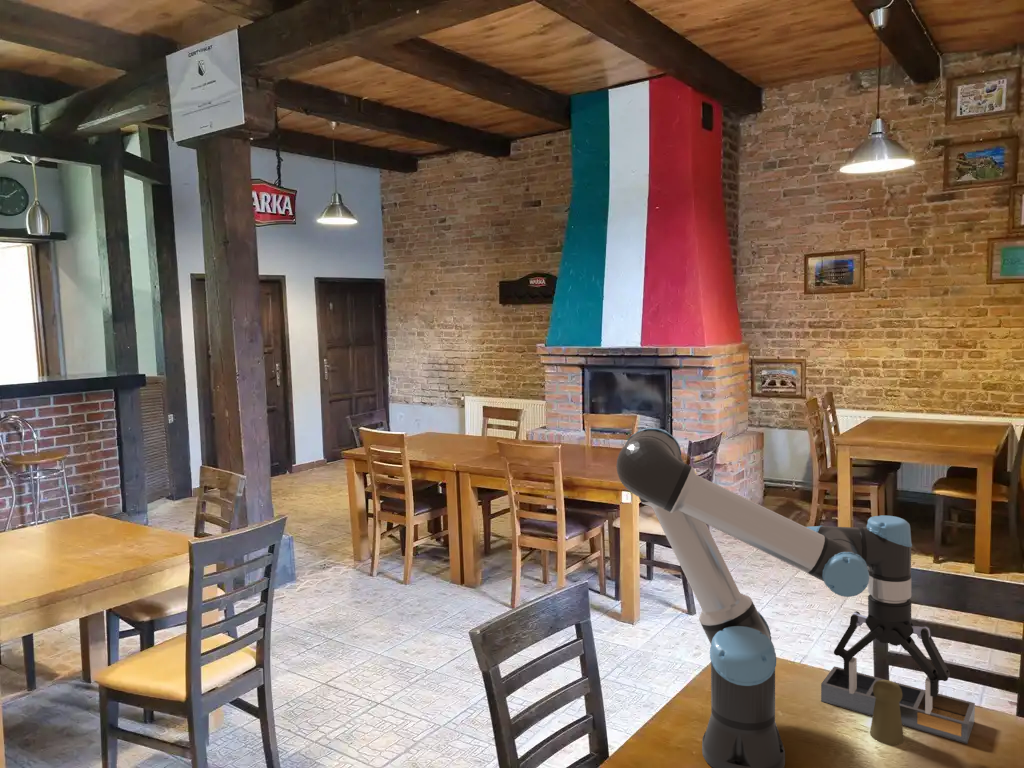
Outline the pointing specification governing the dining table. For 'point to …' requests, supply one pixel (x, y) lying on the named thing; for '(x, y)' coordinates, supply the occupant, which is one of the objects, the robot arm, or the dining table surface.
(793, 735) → the dining table surface
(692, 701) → the dining table surface
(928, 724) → the rack
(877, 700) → the olive pawn-shaped piece
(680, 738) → the dining table surface
